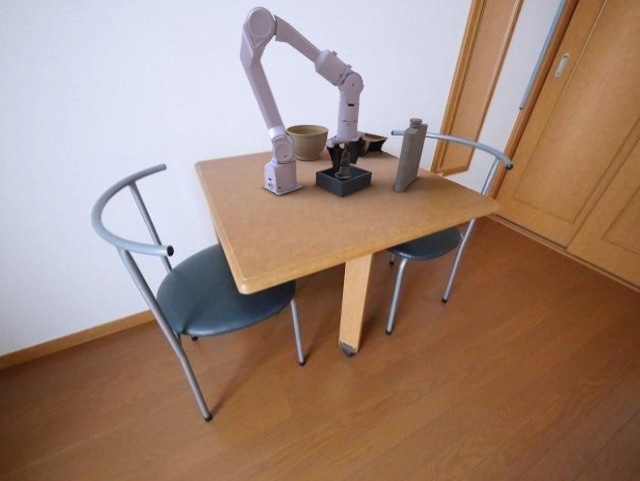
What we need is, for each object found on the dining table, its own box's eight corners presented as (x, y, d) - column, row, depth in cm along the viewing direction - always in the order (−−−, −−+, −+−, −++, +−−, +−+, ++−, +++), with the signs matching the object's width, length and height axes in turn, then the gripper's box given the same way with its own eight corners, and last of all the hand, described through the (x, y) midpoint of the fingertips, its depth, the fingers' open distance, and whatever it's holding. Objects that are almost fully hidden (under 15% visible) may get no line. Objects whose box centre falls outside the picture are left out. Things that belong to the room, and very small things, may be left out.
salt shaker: (352, 182, 95) (355, 145, 88) (352, 189, 90) (355, 151, 83) (334, 181, 95) (336, 144, 88) (333, 188, 90) (335, 150, 84)
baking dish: (361, 149, 132) (359, 127, 127) (392, 153, 120) (392, 128, 115) (338, 158, 125) (335, 134, 120) (369, 162, 112) (367, 136, 108)
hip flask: (402, 192, 89) (415, 124, 77) (390, 189, 90) (401, 122, 79) (417, 177, 100) (431, 115, 89) (406, 174, 102) (418, 114, 90)
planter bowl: (305, 148, 125) (305, 122, 119) (335, 156, 117) (336, 129, 110) (279, 157, 114) (277, 129, 108) (309, 166, 106) (309, 136, 100)
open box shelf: (342, 197, 85) (343, 183, 83) (315, 185, 92) (315, 171, 89) (370, 185, 93) (372, 172, 90) (344, 175, 100) (345, 162, 97)
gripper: (340, 125, 75) (337, 175, 82) (374, 118, 83) (369, 164, 91) (322, 121, 79) (321, 169, 87) (356, 115, 87) (352, 159, 95)
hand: (344, 166), depth 89 cm, fingers open, 7 cm apart
